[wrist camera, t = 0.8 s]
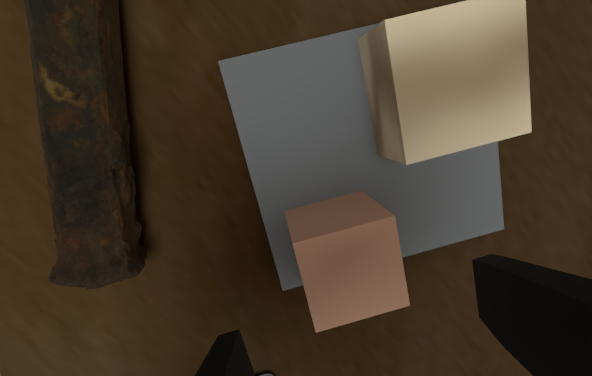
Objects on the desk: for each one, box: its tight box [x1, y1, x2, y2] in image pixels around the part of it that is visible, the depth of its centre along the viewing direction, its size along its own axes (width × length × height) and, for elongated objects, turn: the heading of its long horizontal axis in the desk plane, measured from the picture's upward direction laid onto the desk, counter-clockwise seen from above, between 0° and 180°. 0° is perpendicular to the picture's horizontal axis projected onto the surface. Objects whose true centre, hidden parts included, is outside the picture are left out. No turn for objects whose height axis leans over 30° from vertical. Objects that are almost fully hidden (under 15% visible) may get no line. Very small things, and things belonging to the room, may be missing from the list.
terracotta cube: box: [284, 191, 410, 333], centre depth 16 cm, size 4×4×4 cm
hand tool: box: [24, 0, 147, 289], centre depth 14 cm, size 19×4×5 cm, turn 175°
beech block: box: [358, 0, 532, 165], centre depth 15 cm, size 6×6×4 cm
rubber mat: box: [218, 23, 504, 291], centre depth 18 cm, size 13×14×1 cm
